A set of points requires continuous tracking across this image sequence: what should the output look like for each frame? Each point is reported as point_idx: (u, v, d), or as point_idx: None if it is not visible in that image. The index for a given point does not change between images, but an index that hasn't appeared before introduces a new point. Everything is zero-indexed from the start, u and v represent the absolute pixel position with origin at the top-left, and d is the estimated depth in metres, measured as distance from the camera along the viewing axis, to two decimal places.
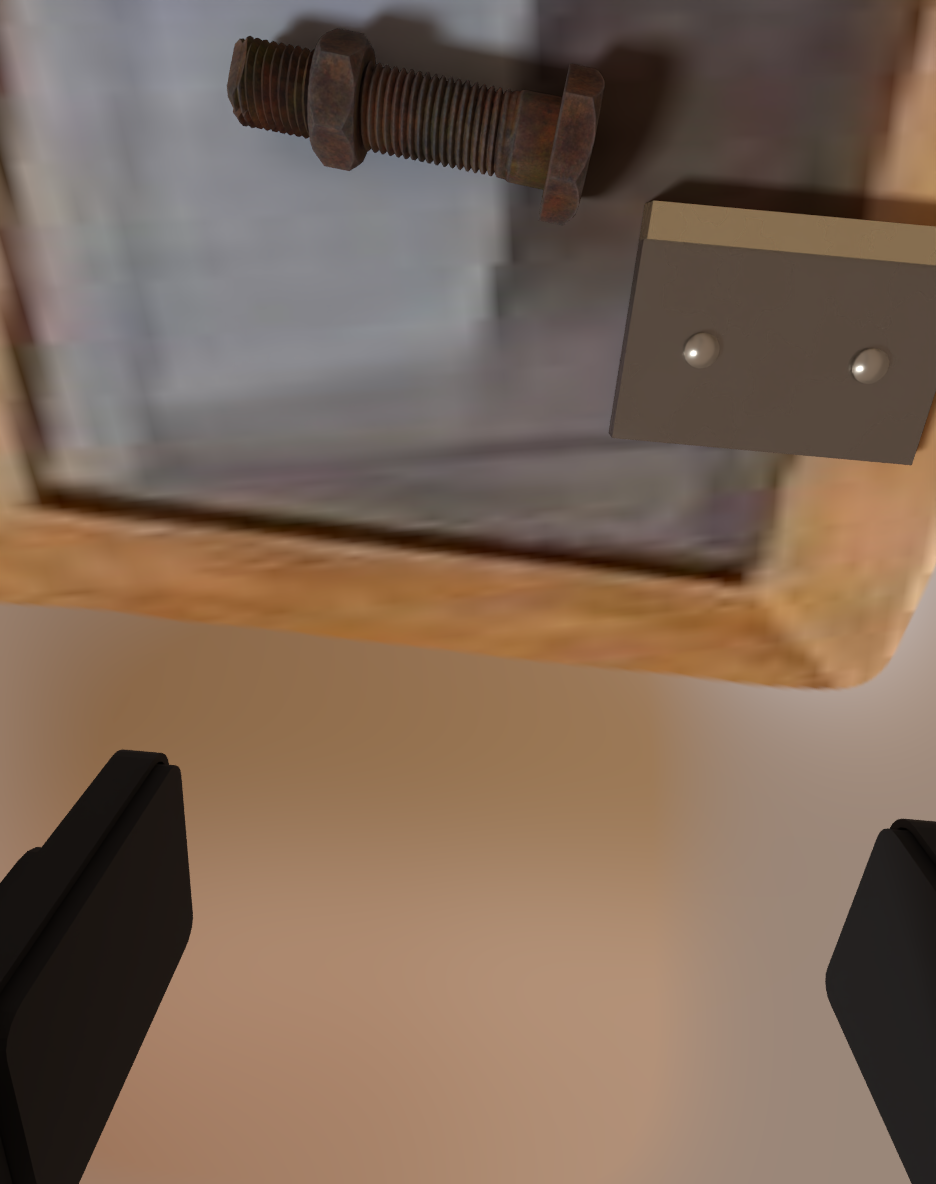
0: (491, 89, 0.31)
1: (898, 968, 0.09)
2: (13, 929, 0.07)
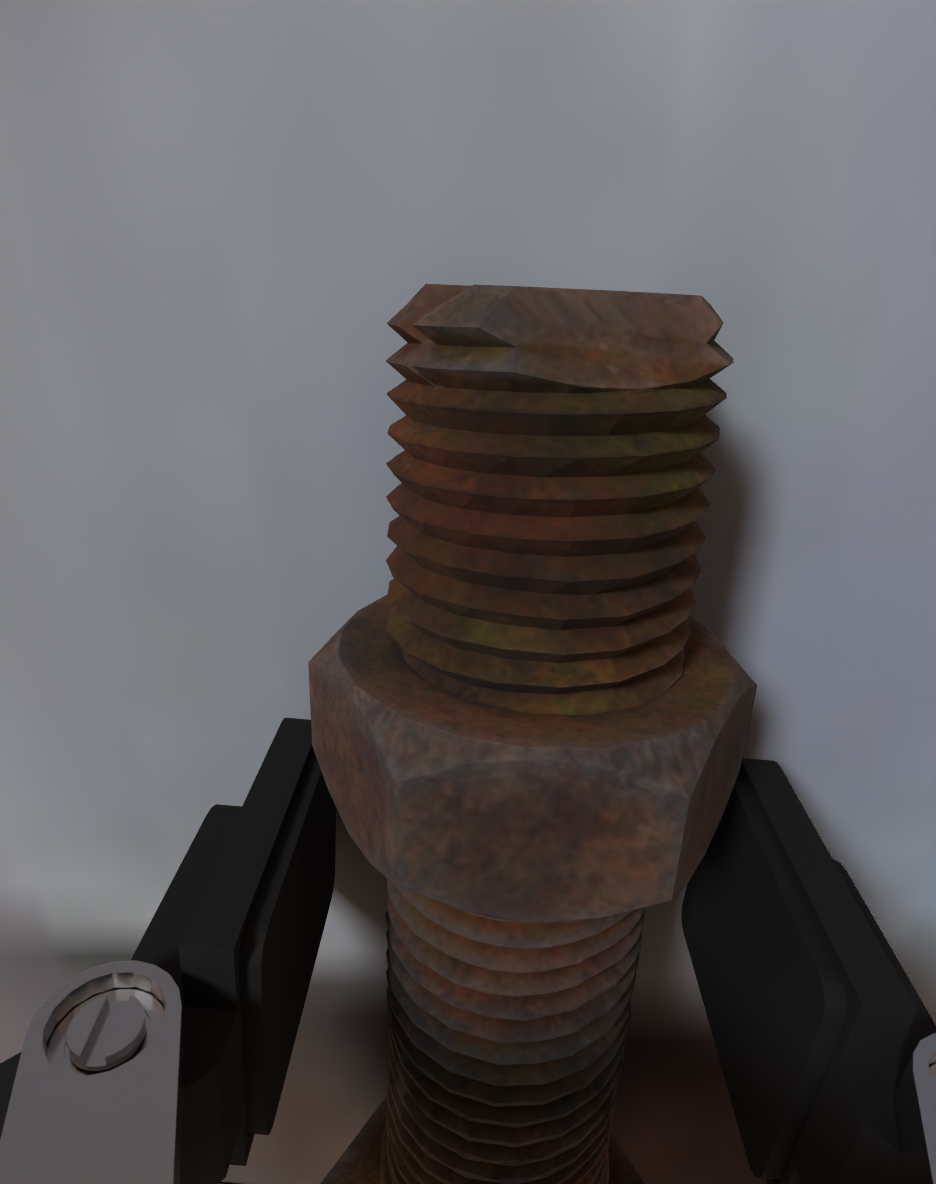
0: (599, 1156, 0.10)
1: (724, 890, 0.10)
2: (246, 865, 0.08)
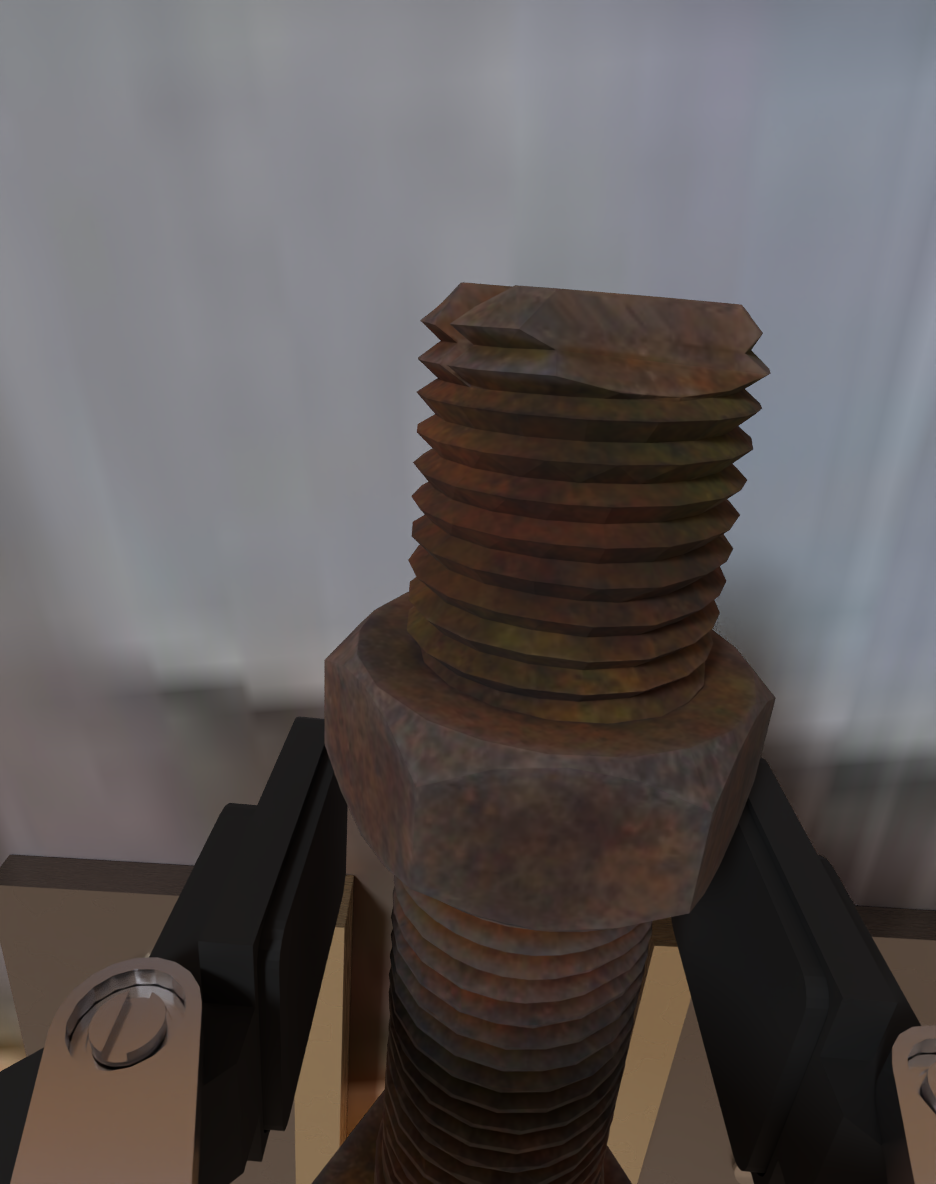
0: (596, 1164, 0.10)
1: (711, 886, 0.10)
2: (263, 863, 0.08)
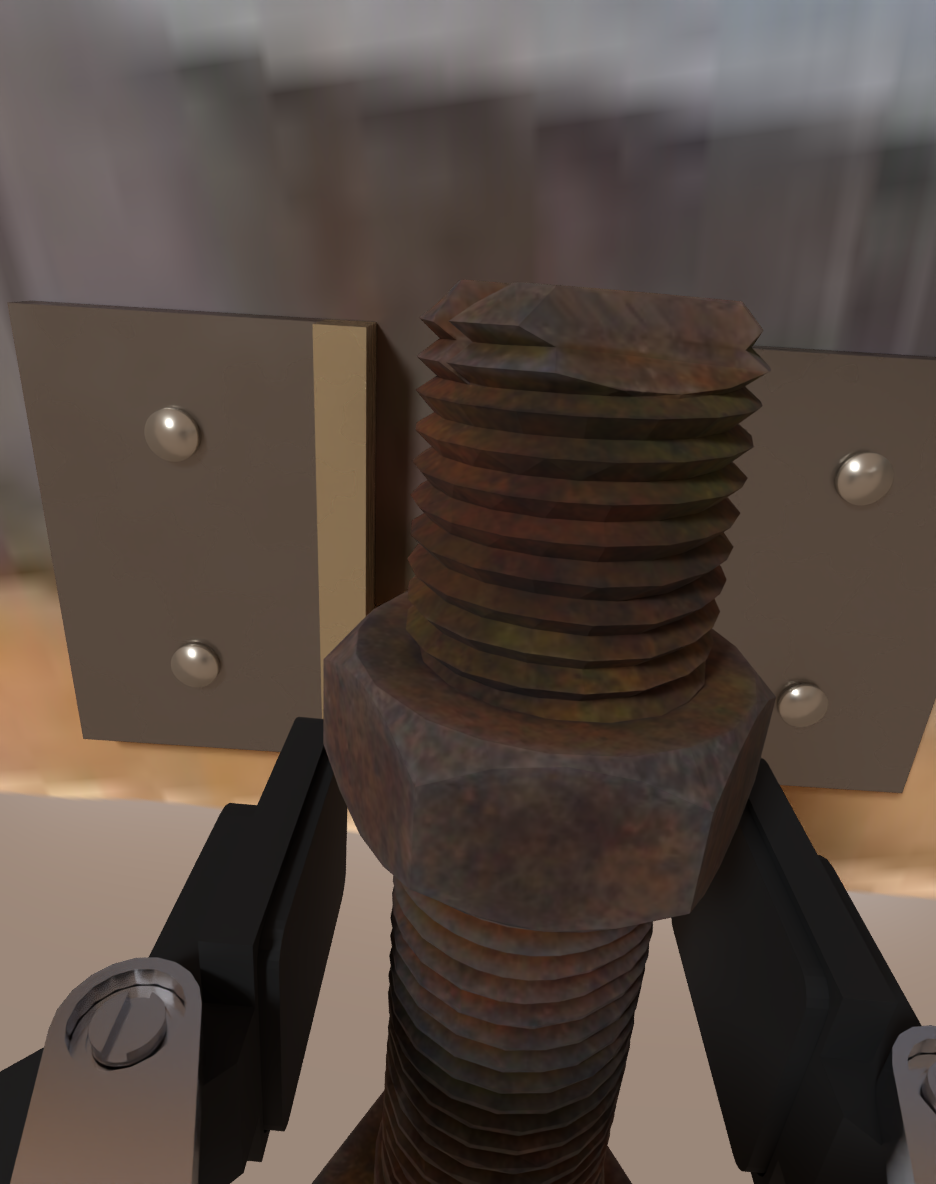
0: (597, 1164, 0.10)
1: (711, 886, 0.10)
2: (262, 863, 0.08)
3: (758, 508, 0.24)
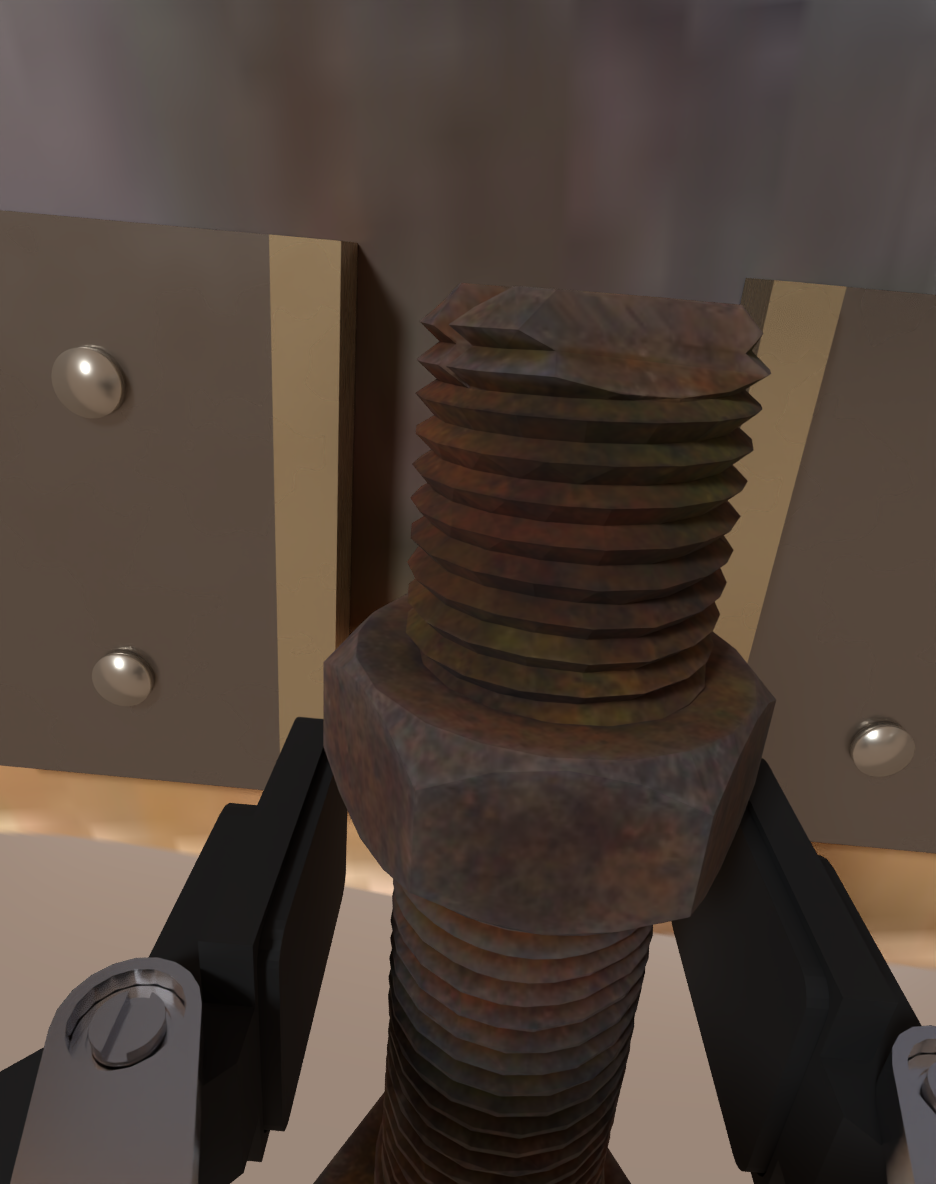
0: (597, 1168, 0.10)
1: (711, 886, 0.10)
2: (262, 863, 0.08)
3: (844, 500, 0.18)
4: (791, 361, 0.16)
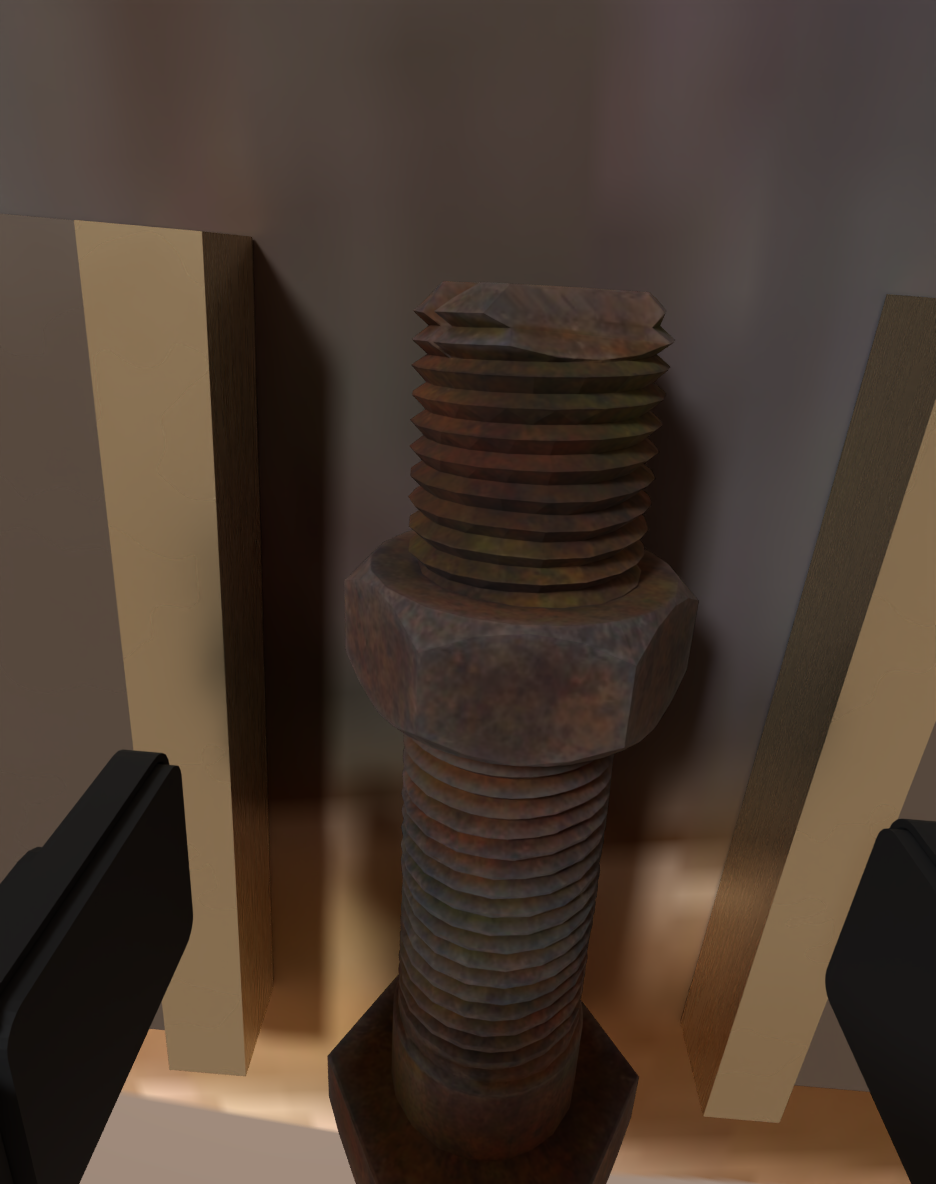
0: (573, 995, 0.12)
1: (898, 967, 0.09)
2: (14, 929, 0.07)
3: None
4: None
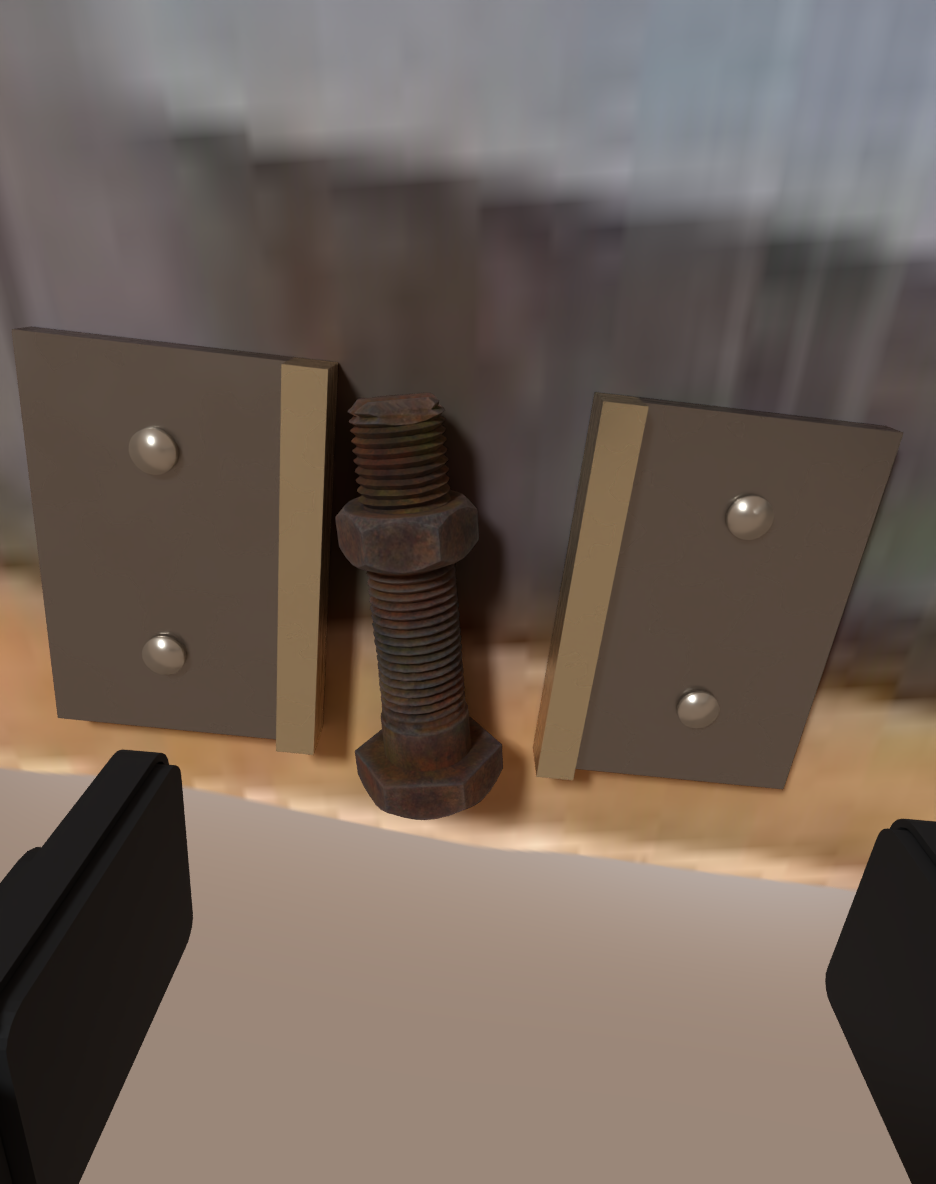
0: (455, 690, 0.28)
1: (898, 968, 0.09)
2: (14, 929, 0.07)
3: (661, 538, 0.27)
4: (617, 450, 0.25)
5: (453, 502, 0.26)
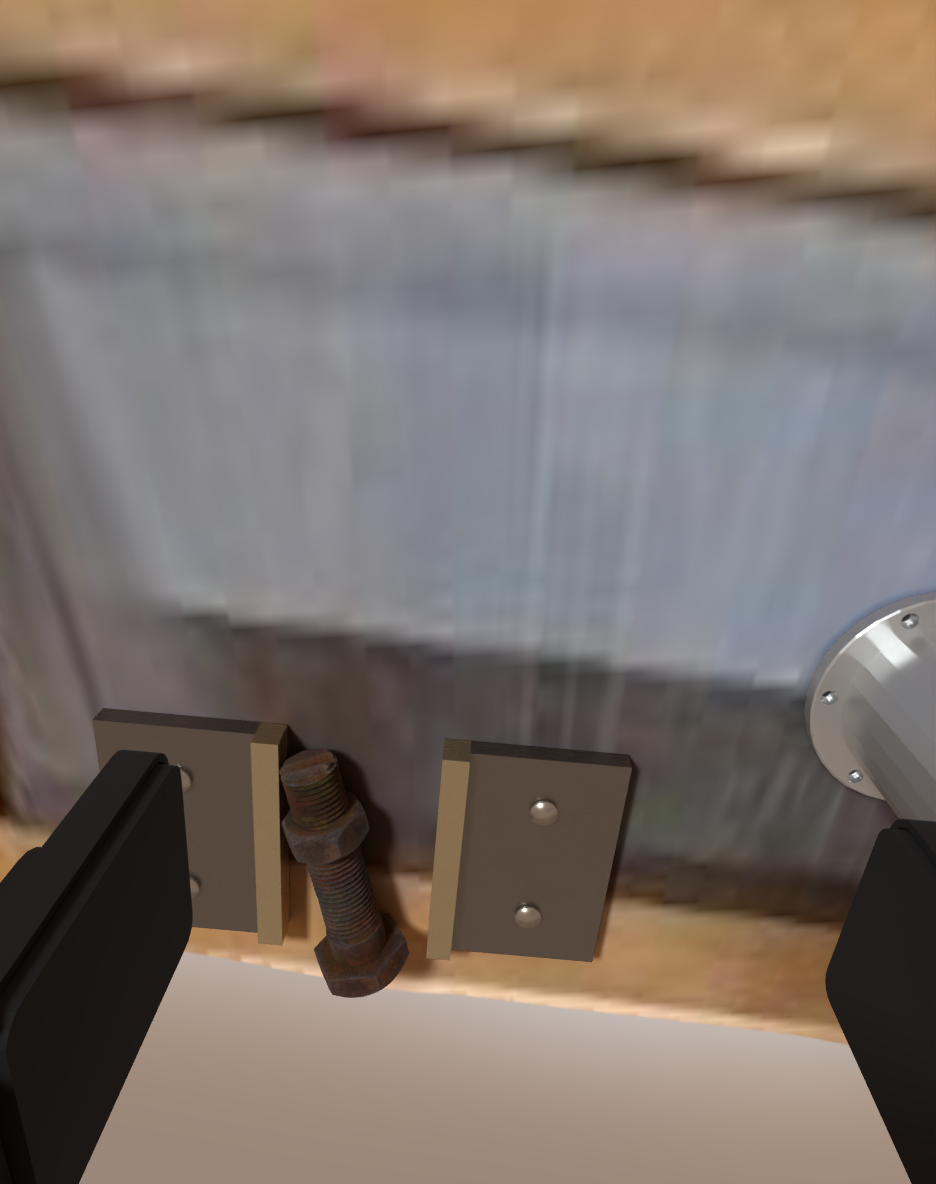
0: (368, 916, 0.45)
1: (898, 968, 0.09)
2: (13, 929, 0.07)
3: (491, 822, 0.44)
4: (454, 784, 0.42)
5: (349, 813, 0.43)
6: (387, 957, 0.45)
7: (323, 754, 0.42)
